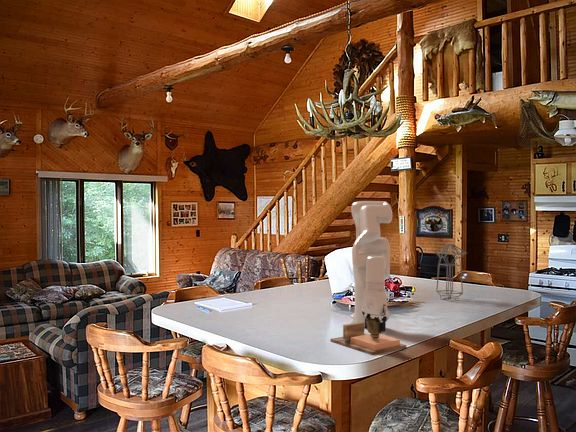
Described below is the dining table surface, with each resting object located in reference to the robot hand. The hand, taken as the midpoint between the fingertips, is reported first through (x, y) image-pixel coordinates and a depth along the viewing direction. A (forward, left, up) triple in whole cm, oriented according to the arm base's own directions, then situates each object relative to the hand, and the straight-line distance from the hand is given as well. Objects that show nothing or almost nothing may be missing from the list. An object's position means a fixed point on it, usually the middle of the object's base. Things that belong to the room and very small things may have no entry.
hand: (375, 329), depth 212 cm
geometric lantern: (-54, +119, -7) cm, 131 cm away
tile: (0, 0, -4) cm, 4 cm away
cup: (0, 0, -4) cm, 4 cm away
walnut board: (-4, 0, -7) cm, 8 cm away
